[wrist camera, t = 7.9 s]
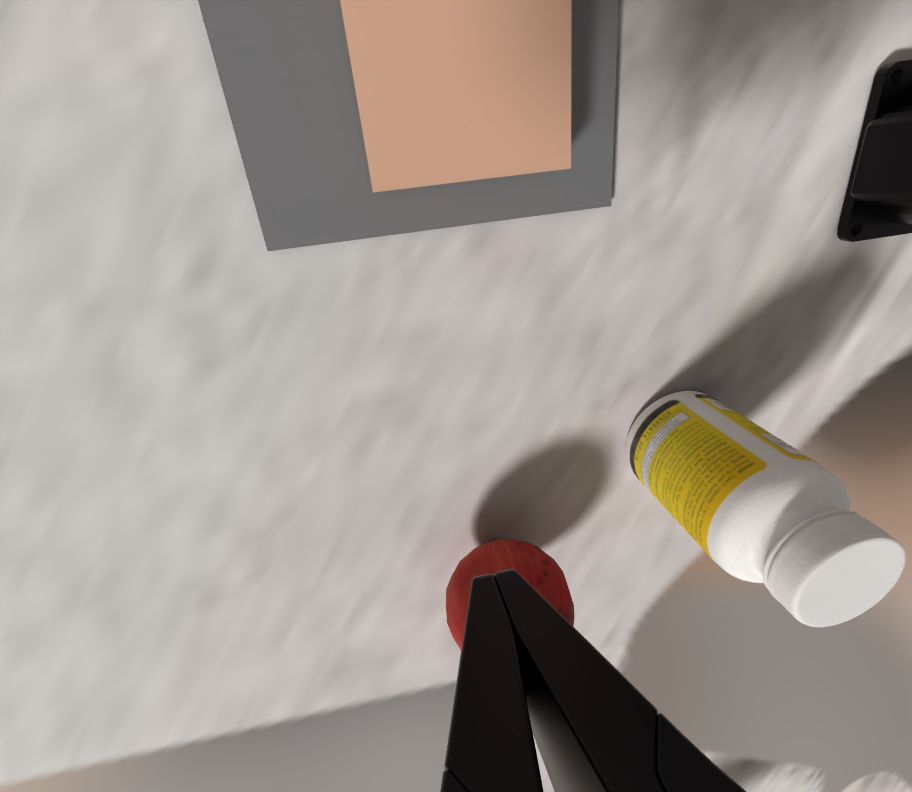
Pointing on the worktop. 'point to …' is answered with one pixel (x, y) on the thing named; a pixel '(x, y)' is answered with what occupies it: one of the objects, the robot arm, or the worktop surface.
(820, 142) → the worktop surface
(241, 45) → the slate mat
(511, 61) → the block
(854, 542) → the supplement bottle
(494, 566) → the onion
